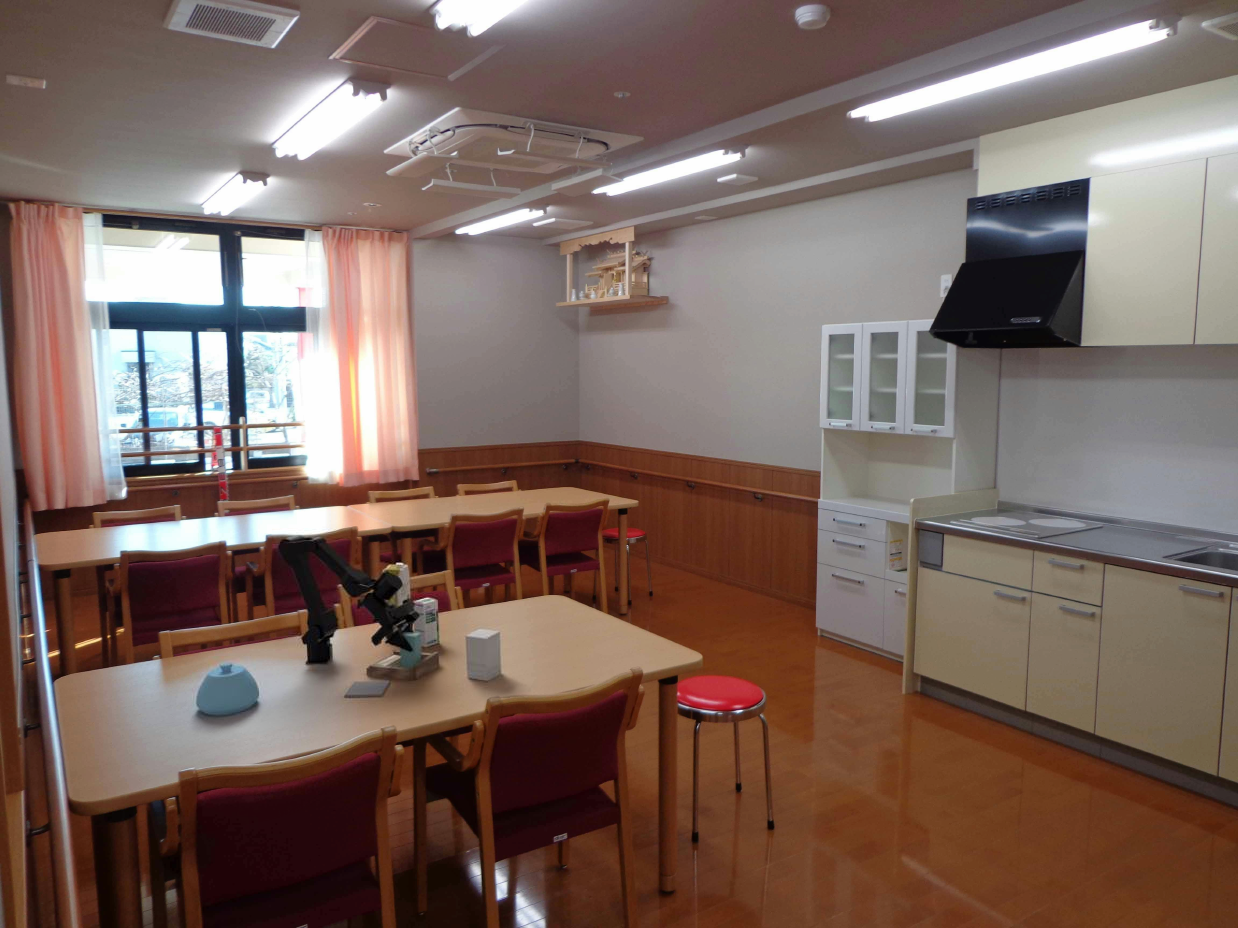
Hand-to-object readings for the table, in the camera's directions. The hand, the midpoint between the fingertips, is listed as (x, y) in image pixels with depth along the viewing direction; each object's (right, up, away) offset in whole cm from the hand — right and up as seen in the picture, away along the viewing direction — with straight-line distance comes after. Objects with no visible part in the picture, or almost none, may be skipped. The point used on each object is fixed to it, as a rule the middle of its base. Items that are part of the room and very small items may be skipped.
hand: (414, 649), depth 241 cm
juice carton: (-15, -3, +37) cm, 40 cm away
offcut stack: (-8, -7, +3) cm, 11 cm away
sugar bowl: (-43, -10, -24) cm, 50 cm away
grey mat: (-10, -8, -14) cm, 19 cm away
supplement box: (+21, -7, -3) cm, 22 cm away
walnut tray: (-4, -6, +2) cm, 8 cm away
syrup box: (-2, -4, +25) cm, 26 cm away
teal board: (-1, -7, +1) cm, 7 cm away
